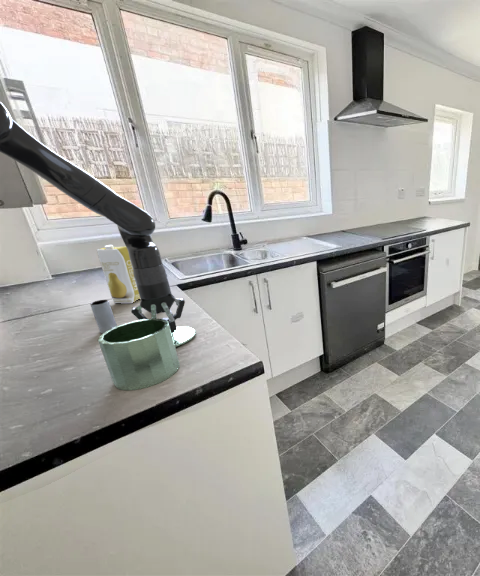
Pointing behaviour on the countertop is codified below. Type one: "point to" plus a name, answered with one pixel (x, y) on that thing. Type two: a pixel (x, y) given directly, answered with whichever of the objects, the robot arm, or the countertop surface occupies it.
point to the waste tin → (139, 353)
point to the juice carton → (118, 274)
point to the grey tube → (103, 315)
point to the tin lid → (181, 334)
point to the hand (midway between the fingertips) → (166, 333)
